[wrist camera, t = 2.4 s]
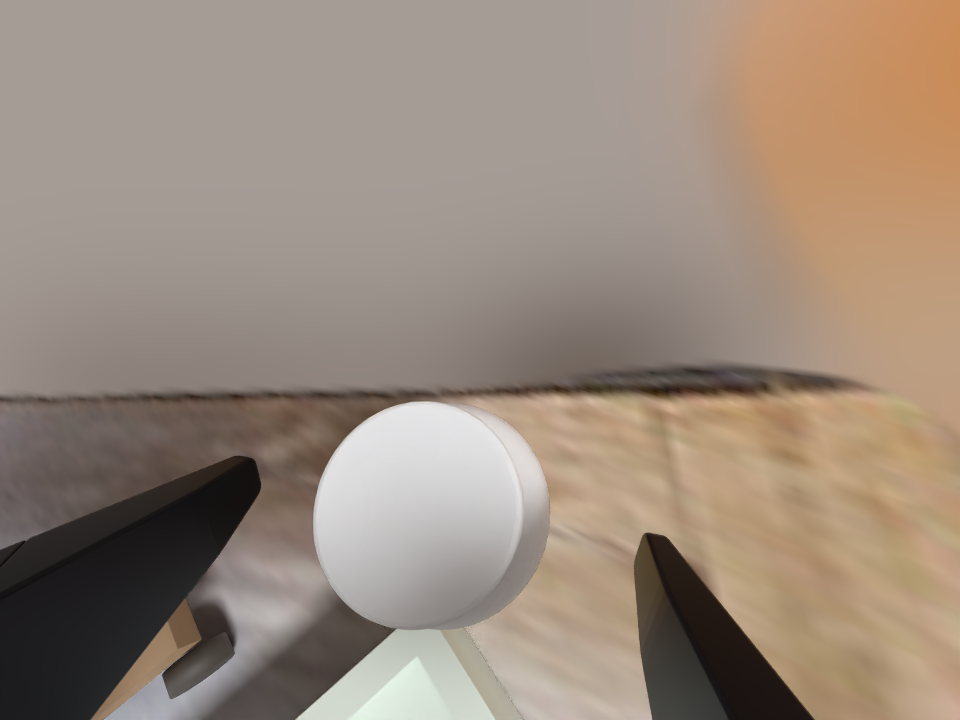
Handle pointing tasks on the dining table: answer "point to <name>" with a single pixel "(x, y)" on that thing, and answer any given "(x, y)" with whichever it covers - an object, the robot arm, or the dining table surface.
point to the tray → (417, 682)
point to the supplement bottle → (431, 516)
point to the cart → (172, 660)
